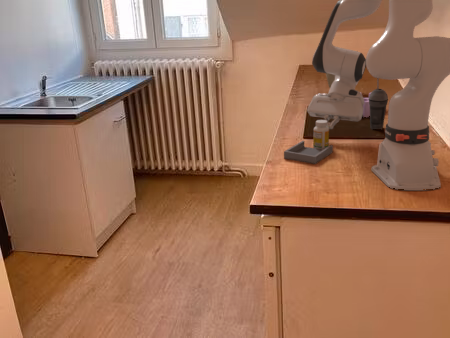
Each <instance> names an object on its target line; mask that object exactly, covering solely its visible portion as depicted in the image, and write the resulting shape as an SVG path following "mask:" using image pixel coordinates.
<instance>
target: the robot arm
mask: <svg viewBox="0 0 450 338" xmlns="http://www.w3.org/2000/svg"><path fill="white" fill-rule="evenodd" d="M382 1H383V0H338V1H337V2H336V4H335V5H334V7H333V8H332V11H331V13H330V15H329V18H328V21H327V23H326V26H325V28H324V30H323V33H322V34H321V35H322V36H321V38H320V41H319V43H318V45H317V47H316V49H315V51H314V53H313V54H312V55H313V56H312V59H311V61H312V62H311V64H312V66H313V68H314V69H315V70H316V72H317V73H322V74H326V73H329V74H333V75H335V80H334V82H333V83H332V85H331V87H330V88H329V90H328V93H319V92H318V93H317V94H314V95H313V96H312V99H311V101H310V103H309V104H308V106H307V108H306V109H307V111H306V112H307V113H308V114H309V117H316V118H323V120H326V121H327V127H328V128H329V130H333V129H334V127H335V126H336V125H337V123H339V122H340V120H341V121H349V122H357V123H358V122H360V121H361V120H362V117H363V110H364V107H363V105H364V98H365V97H364V96H363V94H361V93H362V92H361V91H359V90H357V89H356V86H357V85H358V83H359V81H360V80H361V79H362V78H363V76H364V73H365V70H367V71H368V72H369V74H370V75H371V76H372V77H373V78H375V79H377V78H379V79H380V80H381V79H382V80H389V81H391V80H393V81H394V80H407V79H409V80H408V82H407V83H406V85H405V86H404V87H403V88H402V89H400V90H398V91H397V92H396V93H394V94H393V95H392V96H391V98H389V100H388V101H389V102H388V113H387V122H386V124H385V128H384V136H385V138H384V139H383V140H382V141H381V142H380V143H379V146H378V151H377V152H378V153H377V163H376V164H374V165H372V166H371V171H372V172H373V174H374V175H375V176H377V178H378V179H380V181H382V182H383V183H384V184H385V185H386V186H387V187H388V188H389V187H390V189H393V188H395V189H394V190H398V189H404V190H403V191H427V190H426V189H433V190H436V189H435V188H438V189H440V188H441V185H442V183H441V179H440V177H439V173H438V169H437V167H438V166H439V161H440V160H439V158H438V157H434V158H433V156H434V155H436V154H435V152H436V151H435V150H433V149H432V142H431V141H430V133H431V131H430V126H429V118H430V117H429V116H430V110H431V105H432V101H433V98H434V95H435V93H436V91H437V90H438V88H439V86H440V85H441V84H442V83H443V81H445V79H446V78H447V77H448V76H449V75H450V37H446V36H445V37H444V36H439V35H437V36H436V35H435V36H423V37H414V31H415V27H417V26H419V25H420V24H422V23H423V22H425V21H426V20H427V19H428V18H429V17H430V16H431V14H432V12H433V7H434V6H433V0H388V18H387V24H386V26H385V28H384V30H383V33H382V34H381V36H380V37H379V38H378V39H377V40H376V41H375V42H374V43H373V44H372V45H371V46H370V47H369V49H368V51H367V54H366V56H365V55H364V54H363V53H362V52H360V51H358V50H357V51H356V50H353V49H348V48H343V47H338V46H335V45H333V41H334V39H335V37H336V34H337V31H338V29H339V27H340V25H341V24H342V23H344V22H346V21H350V20H357V19H358V20H359V19H362V18H363V19H364V18H366V17H369V16H371V15H373V14H374V13H375V12H377V10H378V9H379V8H380V6H381V4H382ZM360 92H361V93H360ZM331 119H332V121H331V122H329V121H330V120H331ZM439 187H440V188H439ZM423 189H425V190H423Z"/></svg>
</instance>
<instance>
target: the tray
mask: <svg viewBox="0 0 450 338" xmlns="http://www.w3.org/2000/svg"><path fill="white" fill-rule="evenodd" d="M333 148H334V146H333V145H332V144H330V145H329V146H328V147H327V148H325V149H316V148H314V147H309V146H305V140H302V141H300V142H298V143H296V144H295V145H292V146H291V147H289V148H288V149H285V150H284V151H283V159H287V160H291V161H297V162H302V163H308V164H313V165H317V164H318V163H319V162H320V161H322V160H324V159H325V158H326V157H328V156H330V154H332V153H333V152H334V151H333Z"/></svg>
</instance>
